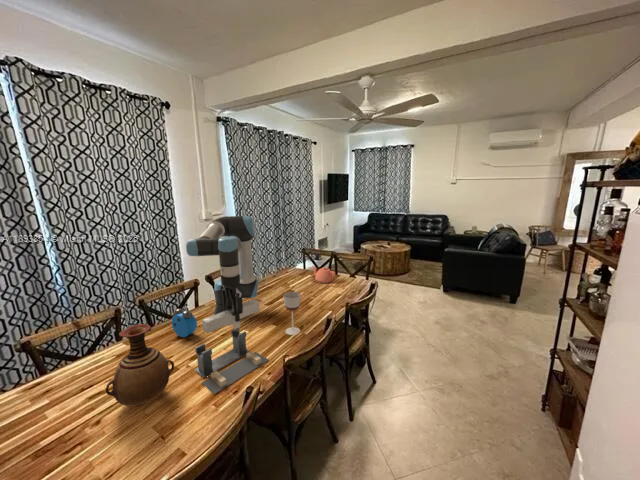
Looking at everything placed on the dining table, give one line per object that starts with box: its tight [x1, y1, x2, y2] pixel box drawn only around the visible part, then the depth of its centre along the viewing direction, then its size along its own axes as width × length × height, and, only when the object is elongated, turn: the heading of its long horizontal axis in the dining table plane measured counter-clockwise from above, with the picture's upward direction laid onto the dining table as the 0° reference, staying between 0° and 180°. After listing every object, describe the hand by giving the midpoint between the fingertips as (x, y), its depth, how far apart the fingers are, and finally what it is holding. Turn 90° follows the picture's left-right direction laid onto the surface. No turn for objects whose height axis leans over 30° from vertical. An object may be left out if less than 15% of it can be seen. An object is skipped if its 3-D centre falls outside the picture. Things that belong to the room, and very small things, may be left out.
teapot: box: [312, 265, 336, 284], centre depth 233 cm, size 22×15×12 cm
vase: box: [105, 323, 175, 407], centre depth 104 cm, size 21×18×30 cm
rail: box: [202, 298, 260, 334], centre depth 117 cm, size 25×4×4 cm, turn 140°
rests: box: [210, 350, 261, 388], centre depth 122 cm, size 8×20×3 cm, turn 140°
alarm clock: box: [171, 308, 198, 338], centre depth 150 cm, size 13×6×15 cm, turn 65°
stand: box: [194, 327, 250, 379], centre depth 128 cm, size 8×24×12 cm, turn 140°
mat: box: [201, 351, 270, 395], centre depth 123 cm, size 10×28×1 cm, turn 140°
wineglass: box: [282, 291, 302, 336], centre depth 154 cm, size 9×10×22 cm
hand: (233, 325), depth 118 cm, fingers closed on rail, 3 cm apart
